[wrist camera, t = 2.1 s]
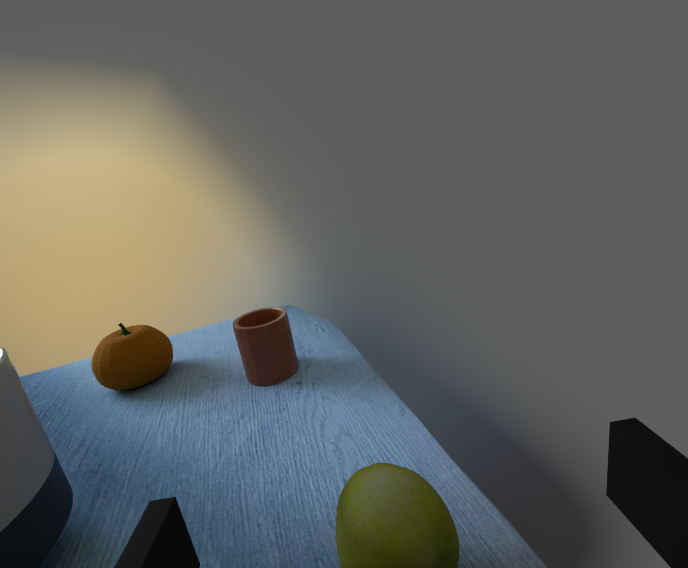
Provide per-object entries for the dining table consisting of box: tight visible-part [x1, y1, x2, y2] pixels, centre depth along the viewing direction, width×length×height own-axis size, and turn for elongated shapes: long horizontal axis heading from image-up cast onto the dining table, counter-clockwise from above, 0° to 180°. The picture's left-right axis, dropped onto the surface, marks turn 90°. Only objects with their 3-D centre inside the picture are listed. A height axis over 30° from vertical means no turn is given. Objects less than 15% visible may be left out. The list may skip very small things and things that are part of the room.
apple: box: [336, 463, 459, 568], centre depth 24 cm, size 8×9×8 cm
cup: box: [233, 307, 298, 386], centre depth 56 cm, size 8×8×9 cm
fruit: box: [91, 323, 173, 390], centre depth 61 cm, size 12×12×10 cm
